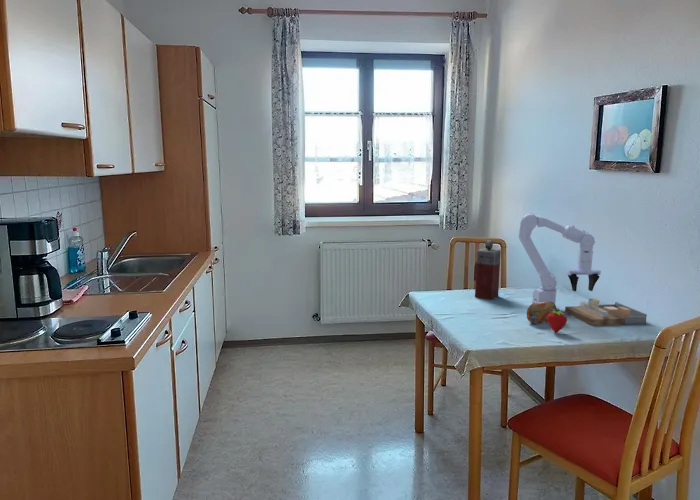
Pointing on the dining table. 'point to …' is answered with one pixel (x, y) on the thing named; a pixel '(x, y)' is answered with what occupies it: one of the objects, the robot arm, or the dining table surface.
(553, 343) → the dining table surface
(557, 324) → the strawberry
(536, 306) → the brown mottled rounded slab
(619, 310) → the tile
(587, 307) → the grey bar with block
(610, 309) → the tile
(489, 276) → the brown rectangular bottle
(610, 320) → the board
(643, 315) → the box
